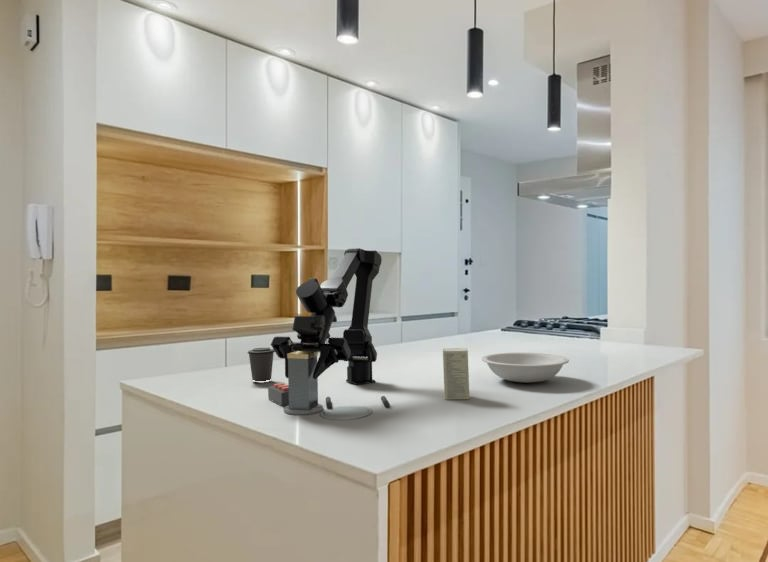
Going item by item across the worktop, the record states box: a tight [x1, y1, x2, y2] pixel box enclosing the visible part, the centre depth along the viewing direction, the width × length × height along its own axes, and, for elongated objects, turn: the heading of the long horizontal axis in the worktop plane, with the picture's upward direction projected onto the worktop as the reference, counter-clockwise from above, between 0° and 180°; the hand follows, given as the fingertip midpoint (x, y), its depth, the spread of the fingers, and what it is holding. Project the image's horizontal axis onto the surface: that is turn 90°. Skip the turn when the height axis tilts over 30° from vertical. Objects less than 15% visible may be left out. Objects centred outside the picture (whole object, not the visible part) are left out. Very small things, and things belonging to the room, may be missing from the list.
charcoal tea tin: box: [287, 351, 319, 411], centre depth 121 cm, size 5×5×13 cm
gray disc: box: [283, 403, 324, 416], centre depth 121 cm, size 9×9×1 cm
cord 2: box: [380, 395, 391, 408], centre depth 125 cm, size 7×1×1 cm, turn 8°
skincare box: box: [442, 347, 470, 400], centre depth 130 cm, size 6×4×12 cm
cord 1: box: [325, 396, 332, 409], centre depth 125 cm, size 7×1×1 cm, turn 8°
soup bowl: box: [481, 352, 569, 384], centre depth 149 cm, size 24×24×7 cm
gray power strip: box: [267, 382, 289, 407], centre depth 130 cm, size 9×4×4 cm, turn 33°
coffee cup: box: [247, 347, 276, 381], centre depth 156 cm, size 8×8×10 cm
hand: (300, 377), depth 119 cm, fingers open, 7 cm apart
